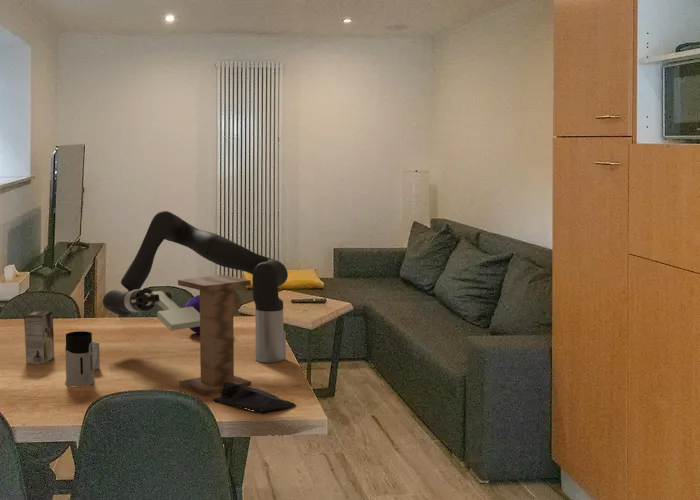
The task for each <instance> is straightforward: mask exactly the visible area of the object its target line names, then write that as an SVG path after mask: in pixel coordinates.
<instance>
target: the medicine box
mask: <svg viewBox="0 0 700 500" xmlns="http://www.w3.org/2000/svg"><path fill="white" fill-rule="evenodd" d="M92 342H96V343H97V344H98V346H99V347H100V342H98V341H96V340H92ZM92 349H93V368H94V366H95V363H96V360H97V347H96V345H95V344H94V343H93V344H92ZM100 352H101V351H99V361H98V365H97V367H96V368H95V370H98V369H100V368H101V362H100V360H101V359H100Z"/></svg>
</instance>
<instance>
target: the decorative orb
mask: <svg viewBox="0 0 700 500" xmlns="http://www.w3.org/2000/svg"><path fill="white" fill-rule="evenodd" d="M185 307H194V308H195V309H196V310H197V311H198V312H199V313H200V294H198V295H195V296H193V297H191V298H190V299H189V300H188V301H187V303H186V304H185ZM185 307H184V308H185ZM189 330H191V331H192V332H194V333H196V334H199V335H200V326H199V327H192V328H189Z"/></svg>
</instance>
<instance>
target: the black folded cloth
mask: <svg viewBox="0 0 700 500" xmlns="http://www.w3.org/2000/svg"><path fill="white" fill-rule="evenodd" d="M212 400H213V401H214V400H215V402H216V401H218V402H219V403H221V402H222V404H223V403H225V404H224V405H226V404H229V405H228V406H230V405H233V406H232V407H234V406H238V407H237V408H239V407H241V408H240V409H243V408H247V409H250V410H254V411H259V412H258V413H260V412H263V413H265V412H266V411H267V412H270V411H271V410H272V411H278V410H277V409H280V410H285V409H284V408H286V409H291V408H294V407H295V405H296V404H295V402H291V401H289V400H285V399H282V398H279V397H278V396H276V395H274V394H273V393H270V392H268V391H265V390H262V389H259V388H256V387H252V386H250V387H247V386H244V385H240V384H234V383H224V386H223V391H222V393H220V396H217V397H215V398H213V399H212ZM293 406H294V407H293ZM247 409H246V410H247ZM250 410H249V411H250ZM254 411H253V412H254ZM267 412H266V413H267Z"/></svg>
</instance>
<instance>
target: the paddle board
mask: <svg viewBox="0 0 700 500" xmlns="http://www.w3.org/2000/svg"><path fill="white" fill-rule="evenodd" d="M164 293H165V292H164V291H163V290H156V291H153V292H152V293H151V295H156V294H159V301H157V302H156V303H157V304H156V305H158V306H159V307H160V309H162V310H159V311H157V314H156V318H158V320H159V321H160V322H161V323H162V324H163V325H164V326H165V327H166V328H167V329H169V331H171V332H172V331H179V330H185V329H190V328H192V327H199V326H200V313H199V312H198V311H197V310H196V309H195V308H194V307H180V306H178V305H177V304H176V302H174V301H173V300H172V298H171V299H170V298H169V297H168V296H167V295H165V294H164Z"/></svg>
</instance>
